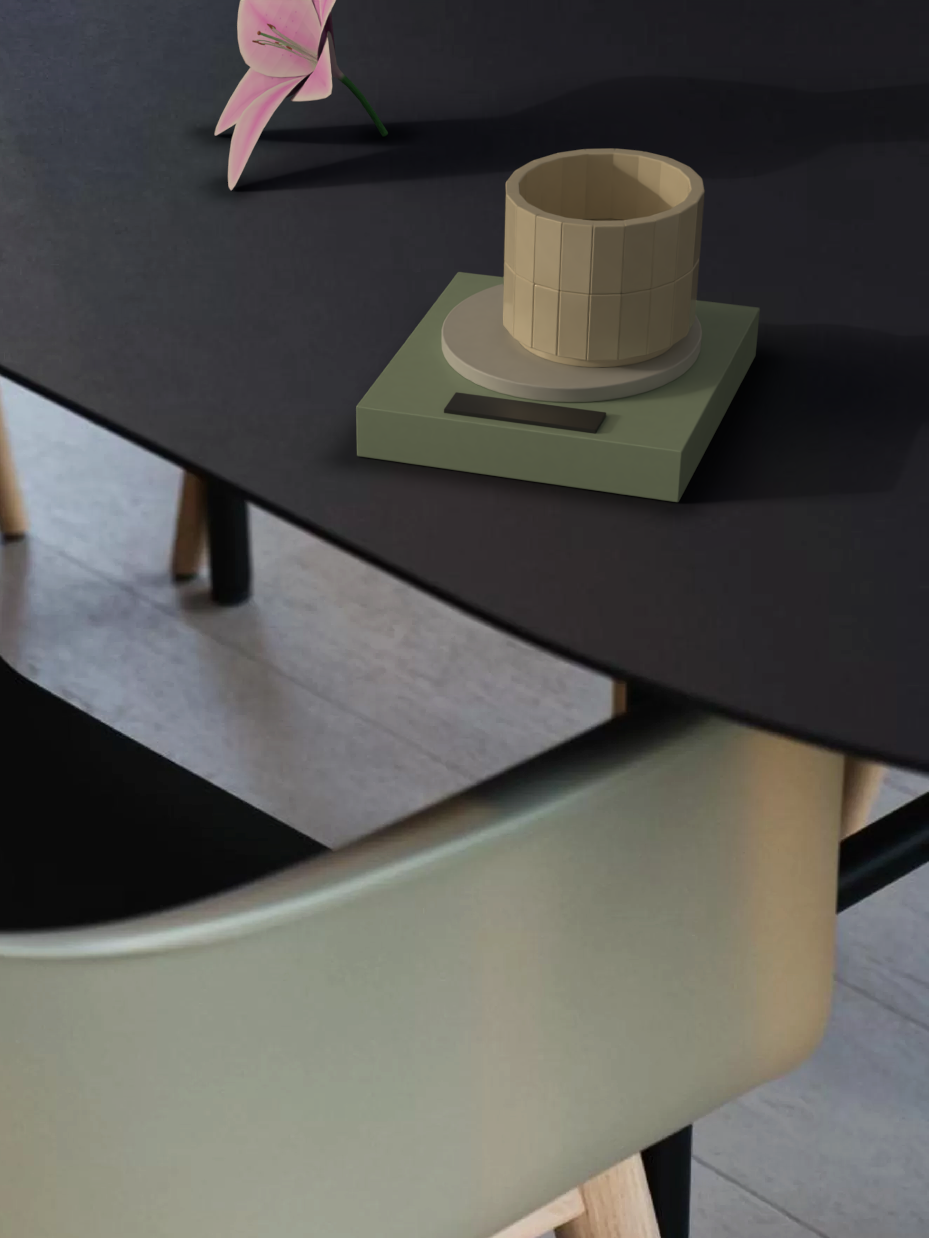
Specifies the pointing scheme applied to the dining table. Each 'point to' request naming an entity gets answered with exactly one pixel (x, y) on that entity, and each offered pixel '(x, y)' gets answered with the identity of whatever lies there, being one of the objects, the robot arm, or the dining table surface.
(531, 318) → the tan faceted cup
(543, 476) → the scale
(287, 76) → the lily
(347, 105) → the dining table surface
